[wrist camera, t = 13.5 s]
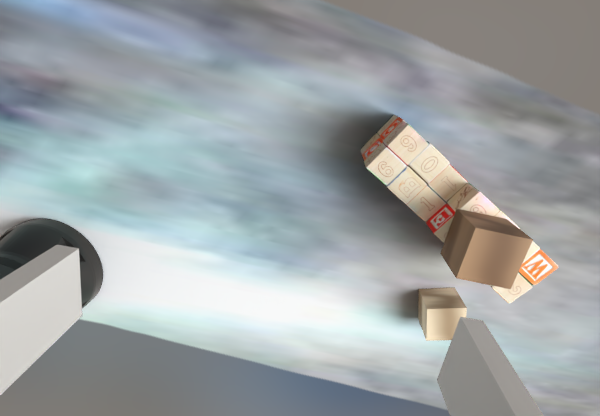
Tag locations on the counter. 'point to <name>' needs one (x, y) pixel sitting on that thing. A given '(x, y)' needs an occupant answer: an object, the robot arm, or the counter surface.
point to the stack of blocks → (439, 192)
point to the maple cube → (440, 312)
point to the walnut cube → (485, 248)
